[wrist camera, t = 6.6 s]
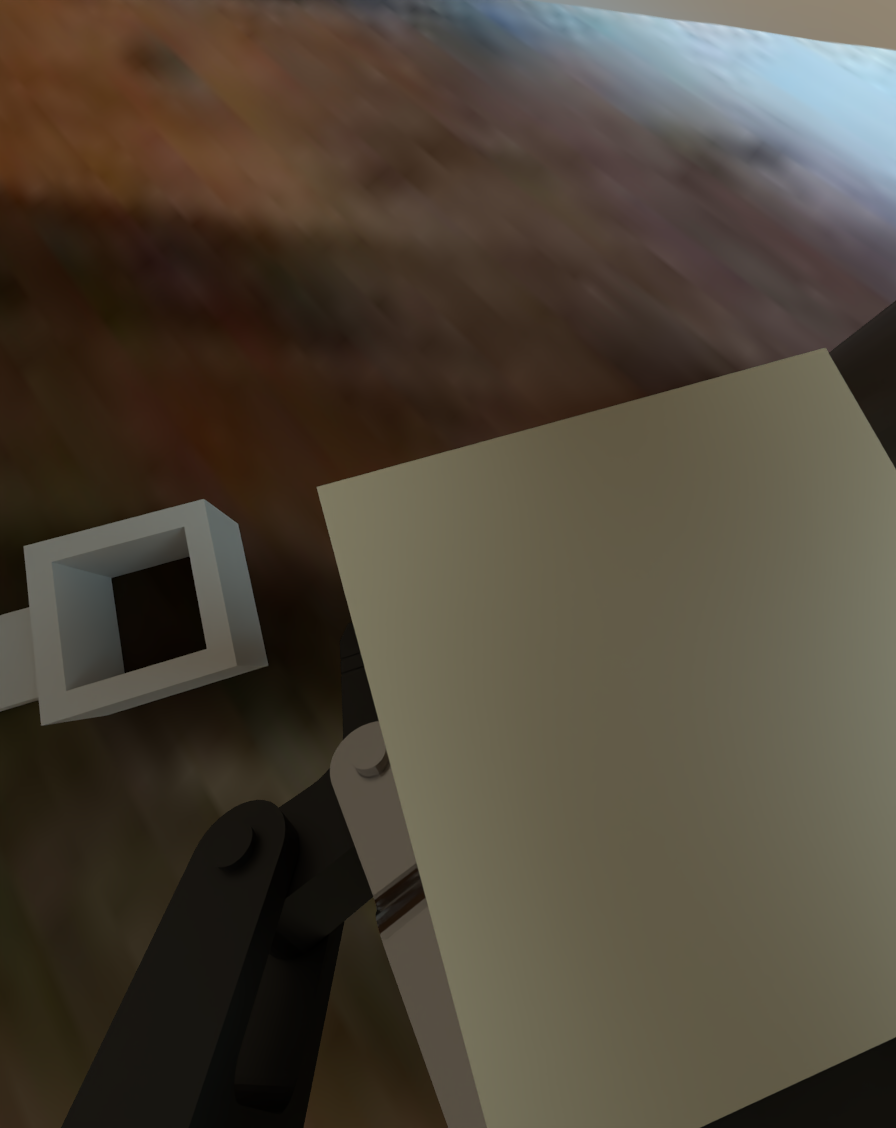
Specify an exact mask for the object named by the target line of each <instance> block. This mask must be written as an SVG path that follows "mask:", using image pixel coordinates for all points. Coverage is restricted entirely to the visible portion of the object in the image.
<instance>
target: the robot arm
mask: <svg viewBox="0 0 896 1128" xmlns="http://www.w3.org/2000/svg"><path fill="white" fill-rule="evenodd" d="M829 355H830V356H831V358H832V360H833V362H834V363H835V365H836V367H837V369H838V370H839V372H840V374H841V375H842V377H843V379H844V381H845V382H846V384H847V386H848V388H849V389H850V391H851V393H852V394H853V396H854V398H855V400H856V401H857V403H858V405H859V407H860V408H861V410H862V412H863V413H864V415H865V417H866V419H867V420H868V422H869V424H870V426H871V427H872V429H873V431H874V432H875V434H876V436H877V438H878V439H879V441H880V443H881V445H882V446H883V448H884V450H885V452H886V453H887V455H888V457H889V458H890V460H891V462H892V464H893V465H894V467H895V469H896V301H894V302H893V303H892V304H891V305H889V306H888V307H887V308H886V309H884V310H883V311H882V312H880V313H879V314H878V315H877V316H875V317H874V318H873V319H871V320H870V321H869V322H868V323H866V324H865V325H864V326H863V327H861V328H860V329H859V330H857V331H856V332H855V333H854V334H852V335H851V336H850V337H848V338H847V339H846V340H845V341H843V342H842V343H841V344H839V345H838V346H837V347H836V348H834V349H833V350H832V351H831V352H829ZM340 657H341V674H342V677H341V684H342V711H343V741H342V742H341V743H340V745H339V746H338V748H337V749H336V751H335V753H334V755H333V758H332V761H331V766H330V768H329V769H328V771H327V772H326V773H325V774H324V775H323V776H322V777H321V778H320V779H319V780H318V781H317V782H315V783H314V784H313V785H311V786H310V787H308V788H307V789H306V790H304V791H303V792H301V793H300V794H298V795H297V796H295V797H294V798H292V799H291V800H289V801H288V802H286V803H285V804H284V805H282V806H281V807H279V808H278V807H277V806H276V805H275V804H273V803H271V802H269V801H265V800H254V801H249V802H246V803H243V804H241V805H238V806H236V807H234V808H233V809H231V810H230V811H228V812H227V813H225V814H224V815H223V816H222V817H220V818H219V819H218V820H217V821H216V822H215V823H214V824H213V825H212V826H211V827H210V828H209V830H208V831H207V832H206V833H205V835H204V836H203V838H202V839H201V840H200V842H199V844H198V846H197V847H196V849H195V851H194V853H193V855H192V857H191V859H190V861H189V864H188V866H187V868H186V870H185V872H184V874H183V876H182V878H181V880H180V882H179V884H178V886H177V888H176V891H175V893H174V895H173V897H172V899H171V901H170V903H169V905H168V907H167V909H166V911H165V913H164V915H163V917H162V920H161V922H160V924H159V926H158V928H157V930H156V932H155V934H154V936H153V938H152V940H151V942H150V944H149V947H148V949H147V951H146V953H145V955H144V957H143V959H142V961H141V963H140V965H139V967H138V969H137V971H136V973H135V976H134V978H133V980H132V982H131V984H130V986H129V988H128V990H127V992H126V994H125V996H124V998H123V1000H122V1003H121V1005H120V1007H119V1009H118V1011H117V1013H116V1015H115V1017H114V1019H113V1021H112V1023H111V1025H110V1027H109V1029H108V1032H107V1034H106V1036H105V1038H104V1040H103V1042H102V1044H101V1046H100V1048H99V1050H98V1052H97V1054H96V1056H95V1059H94V1061H93V1063H92V1065H91V1067H90V1069H89V1071H88V1073H87V1075H86V1077H85V1079H84V1081H83V1083H82V1085H81V1088H80V1090H79V1092H78V1094H77V1096H76V1098H75V1100H74V1102H73V1104H72V1106H71V1108H70V1110H69V1112H68V1114H67V1117H66V1119H65V1121H64V1123H63V1125H62V1127H61V1128H303V1127H304V1122H305V1117H306V1112H307V1107H308V1102H309V1097H310V1092H311V1087H312V1082H313V1076H314V1071H315V1066H316V1061H317V1056H318V1051H319V1046H320V1041H321V1036H322V1031H323V1026H324V1021H325V1016H326V1011H327V1006H328V1001H329V996H330V991H331V986H332V981H333V976H334V971H335V966H336V961H337V956H338V951H339V946H340V941H341V936H342V931H343V926H344V921H345V920H346V919H347V918H348V917H350V916H351V915H352V914H353V913H354V912H356V911H357V910H358V909H359V908H360V907H362V906H363V905H364V904H365V903H366V902H368V901H369V900H370V899H371V898H372V897H374V900H375V903H376V907H377V912H376V920H377V925H378V929H379V932H380V936H381V939H382V942H383V945H384V948H385V951H386V954H387V956H388V959H389V962H390V965H391V968H392V971H393V973H394V976H395V979H396V982H397V985H398V987H399V990H400V993H401V996H402V999H403V1001H404V1004H405V1007H406V1010H407V1013H408V1015H409V1018H410V1021H411V1024H412V1027H413V1029H414V1032H415V1035H416V1038H417V1041H418V1044H419V1046H420V1049H421V1052H422V1055H423V1058H424V1060H425V1063H426V1066H427V1069H428V1072H429V1074H430V1077H431V1080H432V1083H433V1086H434V1088H435V1091H436V1094H437V1097H438V1100H439V1102H440V1105H441V1108H442V1111H443V1114H444V1117H445V1119H446V1122H447V1125H448V1128H487V1126H486V1122H485V1118H484V1114H483V1111H482V1107H481V1103H480V1099H479V1096H478V1092H477V1088H476V1084H475V1081H474V1077H473V1073H472V1069H471V1066H470V1062H469V1058H468V1054H467V1051H466V1047H465V1043H464V1039H463V1036H462V1032H461V1028H460V1024H459V1020H458V1017H457V1013H456V1009H455V1005H454V1002H453V998H452V994H451V990H450V987H449V983H448V979H447V975H446V972H445V968H444V964H443V960H442V957H441V953H440V949H439V945H438V942H437V938H436V934H435V930H434V927H433V923H432V919H431V915H430V911H429V908H428V904H427V900H426V896H425V893H424V889H423V885H422V881H421V878H420V874H419V870H418V866H417V863H416V859H415V855H414V851H413V848H412V844H411V840H410V836H409V833H408V829H407V825H406V821H405V817H404V814H403V810H402V806H401V802H400V799H399V795H398V791H397V787H396V784H395V780H394V776H393V772H392V769H391V765H390V761H389V757H388V754H387V750H386V746H385V742H384V739H383V735H382V731H381V727H380V723H379V720H378V716H377V712H376V708H375V705H374V701H373V697H372V693H371V690H370V686H369V682H368V678H367V675H366V671H365V667H364V663H363V660H362V656H361V652H360V648H359V645H358V641H357V637H356V633H355V629H354V626H353V622H352V623H348V625H347V627H346V629H345V631H344V634H343V636H342V638H341V640H340ZM700 1128H896V1037H895V1038H893V1039H891V1040H888V1041H886V1042H884V1043H882V1044H880V1045H878V1046H875V1047H873V1048H871V1049H869V1050H867V1051H865V1052H862V1053H860V1054H858V1055H856V1056H854V1057H852V1058H849V1059H847V1060H845V1061H843V1062H841V1063H839V1064H837V1065H834V1066H832V1067H830V1068H828V1069H826V1070H824V1071H821V1072H819V1073H817V1074H815V1075H813V1076H811V1077H808V1078H806V1079H804V1080H802V1081H800V1082H798V1083H795V1084H793V1085H791V1086H789V1087H787V1088H785V1089H782V1090H780V1091H778V1092H776V1093H774V1094H772V1095H769V1096H767V1097H765V1098H763V1099H761V1100H759V1101H757V1102H754V1103H752V1104H750V1105H748V1106H746V1107H744V1108H741V1109H739V1110H737V1111H735V1112H733V1113H731V1114H728V1115H726V1116H724V1117H722V1118H720V1119H718V1120H715V1121H713V1122H711V1123H709V1124H707V1125H705V1126H702V1127H700Z"/></svg>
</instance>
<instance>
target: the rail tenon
mask: <svg viewBox="0 0 896 1128" xmlns="http://www.w3.org/2000/svg"><path fill="white" fill-rule="evenodd" d="M317 490H318V494H319V498H320V502H321V505H322V509H323V513H324V517H325V520H326V524H327V528H328V532H329V535H330V539H331V543H332V547H333V551H334V554H335V558H336V562H337V566H338V569H339V573H340V577H341V581H342V584H343V588H344V592H345V596H346V599H347V603H348V607H349V611H350V614H351V618H352V622H353V626H354V629H355V633H356V637H357V641H358V645H359V648H360V652H361V656H362V660H363V663H364V667H365V671H366V675H367V678H368V682H369V686H370V690H371V693H372V697H373V701H374V705H375V708H376V712H377V716H378V720H379V723H380V727H381V731H382V735H383V739H384V742H385V746H386V750H387V754H388V757H389V761H390V765H391V769H392V772H393V776H394V780H395V784H396V787H397V791H398V795H399V799H400V802H401V806H402V810H403V814H404V817H405V821H406V825H407V829H408V833H409V836H410V840H411V844H412V848H413V851H414V855H415V859H416V863H417V866H418V870H419V874H420V878H421V881H422V885H423V889H424V893H425V896H426V900H427V904H428V908H429V911H430V915H431V919H432V923H433V927H434V930H435V934H436V938H437V942H438V945H439V949H440V953H441V957H442V960H443V964H444V968H445V972H446V975H447V979H448V983H449V987H450V990H451V994H452V998H453V1002H454V1005H455V1009H456V1013H457V1017H458V1020H459V1024H460V1028H461V1032H462V1036H463V1039H464V1043H465V1047H466V1051H467V1054H468V1058H469V1062H470V1066H471V1069H472V1073H473V1077H474V1081H475V1084H476V1088H477V1092H478V1096H479V1099H480V1103H481V1107H482V1111H483V1114H484V1118H485V1122H486V1126H487V1128H700V1127H702V1126H705V1125H707V1124H709V1123H711V1122H713V1121H715V1120H718V1119H720V1118H722V1117H724V1116H726V1115H728V1114H731V1113H733V1112H735V1111H737V1110H739V1109H741V1108H744V1107H746V1106H748V1105H750V1104H752V1103H754V1102H757V1101H759V1100H761V1099H763V1098H765V1097H767V1096H769V1095H772V1094H774V1093H776V1092H778V1091H780V1090H782V1089H785V1088H787V1087H789V1086H791V1085H793V1084H795V1083H798V1082H800V1081H802V1080H804V1079H806V1078H808V1077H811V1076H813V1075H815V1074H817V1073H819V1072H821V1071H824V1070H826V1069H828V1068H830V1067H832V1066H834V1065H837V1064H839V1063H841V1062H843V1061H845V1060H847V1059H849V1058H852V1057H854V1056H856V1055H858V1054H860V1053H862V1052H865V1051H867V1050H869V1049H871V1048H873V1047H875V1046H878V1045H880V1044H882V1043H884V1042H886V1041H888V1040H891V1039H893V1038H895V1037H896V469H895V467H894V465H893V464H892V462H891V460H890V458H889V457H888V455H887V453H886V452H885V450H884V448H883V446H882V445H881V443H880V441H879V439H878V438H877V436H876V434H875V432H874V431H873V429H872V427H871V426H870V424H869V422H868V420H867V419H866V417H865V415H864V413H863V412H862V410H861V408H860V407H859V405H858V403H857V401H856V400H855V398H854V396H853V394H852V393H851V391H850V389H849V388H848V386H847V384H846V382H845V381H844V379H843V377H842V375H841V374H840V372H839V370H838V369H837V367H836V365H835V363H834V362H833V360H832V358H831V356H830V355H829V353H828V351H827V350H826V348H823V349H819V350H816V351H812V352H808V353H805V354H801V355H797V356H794V357H790V358H786V359H783V360H779V361H775V362H772V363H768V364H765V365H761V366H757V367H754V368H750V369H746V370H743V371H739V372H735V373H732V374H728V375H724V376H721V377H717V378H713V379H710V380H706V381H702V382H699V383H695V384H692V385H688V386H684V387H681V388H677V389H673V390H670V391H666V392H662V393H659V394H655V395H651V396H648V397H644V398H640V399H637V400H633V401H629V402H626V403H622V404H619V405H615V406H611V407H608V408H604V409H600V410H597V411H593V412H589V413H586V414H582V415H578V416H575V417H571V418H567V419H564V420H560V421H556V422H553V423H549V424H546V425H542V426H538V427H535V428H531V429H527V430H524V431H520V432H516V433H513V434H509V435H505V436H502V437H498V438H494V439H491V440H487V441H483V442H480V443H476V444H473V445H469V446H465V447H462V448H458V449H454V450H451V451H447V452H443V453H440V454H436V455H432V456H429V457H425V458H421V459H418V460H414V461H410V462H407V463H403V464H399V465H396V466H392V467H389V468H385V469H381V470H378V471H374V472H370V473H367V474H363V475H359V476H356V477H352V478H348V479H345V480H341V481H337V482H334V483H330V484H326V485H323V486H319V487H317Z"/></svg>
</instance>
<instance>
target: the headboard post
mask: <svg viewBox="0 0 896 1128" xmlns="http://www.w3.org/2000/svg"><path fill="white" fill-rule="evenodd" d="M24 556H25V566H26V576H27V586H28V597H29V607H28V608H24V609H21V610H17V611H14V612H10V613H6V614H3V615H0V711H4V710H7V709H10V708H14V707H17V706H20V705H24V704H27V703H30V702H34V701H37V700H39V709H40V719H41V726H43V725H50V724H56V723H62V722H68V721H75V720H81V719H87V718H94V717H100V716H106V715H110V714H113V713H116V712H120V711H123V710H126V709H129V708H133V707H136V706H139V705H142V704H146V703H149V702H152V701H155V700H159V699H162V698H165V697H168V696H171V695H175V694H178V693H181V692H184V691H188V690H191V689H194V688H197V687H201V686H204V685H207V684H210V683H214V682H217V681H220V680H223V679H227V678H230V677H233V676H236V675H240V674H243V673H246V672H249V671H252V670H256V669H259V668H262V667H265V666H268V661H267V656H266V652H265V647H264V642H263V638H262V633H261V628H260V624H259V619H258V614H257V610H256V605H255V601H254V596H253V591H252V587H251V582H250V577H249V573H248V568H247V563H246V559H245V554H244V549H243V545H242V540H241V535H240V531H239V526H238V523H236V522H235V521H233V520H232V519H231V518H229V517H228V516H227V515H225V514H224V513H222V512H221V511H220V510H218V509H217V508H216V507H214V506H213V505H211V504H210V503H209V502H207V501H206V500H205V499H202V500H198V501H194V502H190V503H186V504H183V505H179V506H175V507H171V508H167V509H164V510H160V511H156V512H152V513H148V514H145V515H141V516H137V517H133V518H129V519H125V520H122V521H118V522H114V523H110V524H106V525H103V526H99V527H95V528H91V529H87V530H84V531H80V532H76V533H72V534H68V535H64V536H61V537H57V538H53V539H49V540H45V541H42V542H38V543H34V544H30V545H26V546H24ZM189 556H190V561H191V566H192V572H193V577H194V582H195V588H196V593H197V598H198V604H199V609H200V615H201V620H202V625H203V631H204V636H205V641H206V647H207V649H205V650H201V651H198V652H195V653H191V654H188V655H185V656H181V657H178V658H175V659H171V660H168V661H165V662H161V663H158V664H155V665H151V666H148V667H145V668H141V669H138V670H135V671H131V672H128V673H125V672H124V665H123V658H122V651H121V644H120V637H119V630H118V623H117V615H116V608H115V601H114V594H113V587H112V580H111V578H113V577H117V576H120V575H124V574H128V573H131V572H135V571H138V570H142V569H146V568H149V567H153V566H157V565H160V564H164V563H168V562H171V561H175V560H178V559H182V558H186V557H189Z"/></svg>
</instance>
